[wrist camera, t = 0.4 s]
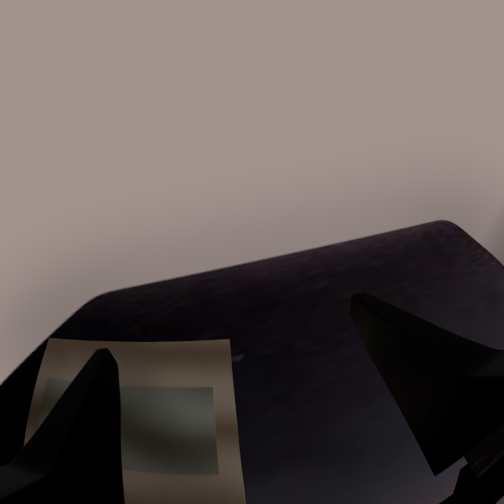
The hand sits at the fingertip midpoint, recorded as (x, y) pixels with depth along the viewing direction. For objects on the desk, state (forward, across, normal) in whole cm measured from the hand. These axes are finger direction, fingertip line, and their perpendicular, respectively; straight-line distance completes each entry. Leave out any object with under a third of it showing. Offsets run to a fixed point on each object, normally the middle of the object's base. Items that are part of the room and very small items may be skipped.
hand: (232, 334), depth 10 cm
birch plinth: (+4, +10, +14) cm, 18 cm away
